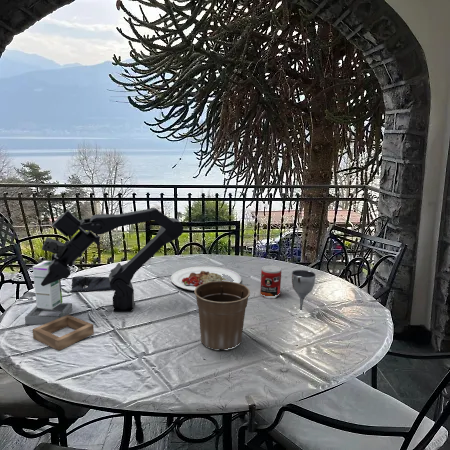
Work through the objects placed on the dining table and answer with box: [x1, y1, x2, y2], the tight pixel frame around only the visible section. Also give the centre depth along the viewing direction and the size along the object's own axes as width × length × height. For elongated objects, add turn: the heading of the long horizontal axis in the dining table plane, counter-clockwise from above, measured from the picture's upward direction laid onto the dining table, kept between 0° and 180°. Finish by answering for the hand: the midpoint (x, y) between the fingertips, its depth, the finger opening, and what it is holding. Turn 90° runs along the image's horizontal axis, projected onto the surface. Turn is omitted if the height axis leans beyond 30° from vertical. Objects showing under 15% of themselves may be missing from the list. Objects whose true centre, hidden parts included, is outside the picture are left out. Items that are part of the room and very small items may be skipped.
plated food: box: [170, 265, 242, 292], centre depth 166 cm, size 30×30×3 cm
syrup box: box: [32, 260, 63, 310], centre depth 126 cm, size 6×6×14 cm
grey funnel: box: [291, 269, 316, 310], centre depth 135 cm, size 8×8×15 cm
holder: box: [24, 302, 73, 325], centre depth 128 cm, size 11×11×2 cm
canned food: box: [259, 265, 282, 296], centre depth 152 cm, size 8×8×11 cm
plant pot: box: [194, 281, 251, 350], centre depth 115 cm, size 16×16×16 cm
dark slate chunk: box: [70, 276, 114, 293], centre depth 157 cm, size 15×22×5 cm
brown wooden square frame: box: [32, 314, 95, 351], centre depth 116 cm, size 12×12×3 cm
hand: (42, 281), depth 126 cm, fingers closed on syrup box, 7 cm apart
